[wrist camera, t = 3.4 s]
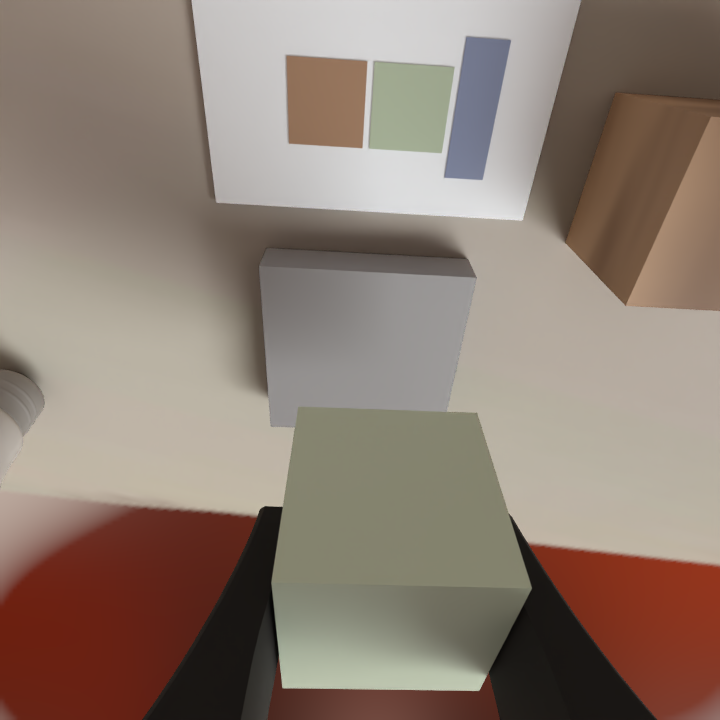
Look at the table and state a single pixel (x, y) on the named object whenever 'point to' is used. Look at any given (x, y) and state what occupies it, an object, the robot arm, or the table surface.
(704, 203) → the block
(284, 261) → the slab
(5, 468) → the lightbulb
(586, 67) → the table surface
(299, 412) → the block
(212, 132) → the blueprint sheet
